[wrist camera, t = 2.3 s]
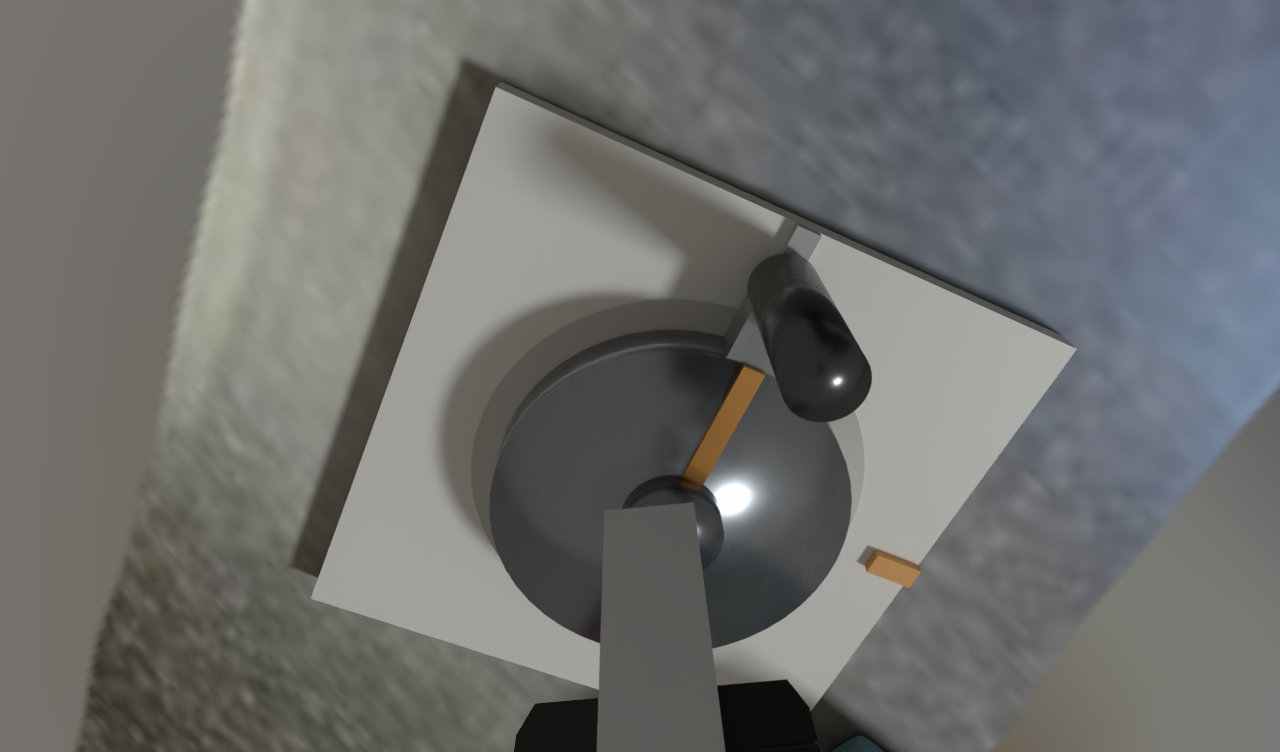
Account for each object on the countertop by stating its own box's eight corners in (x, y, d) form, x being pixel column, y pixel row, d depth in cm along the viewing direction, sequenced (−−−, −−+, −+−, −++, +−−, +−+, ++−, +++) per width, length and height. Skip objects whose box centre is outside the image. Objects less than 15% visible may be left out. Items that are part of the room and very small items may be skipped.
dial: (742, 655, 37) (767, 813, 30) (449, 557, 35) (407, 706, 28) (961, 324, 30) (1057, 432, 24) (618, 172, 28) (616, 245, 21)
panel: (500, 81, 28) (494, 88, 27) (1062, 335, 32) (1082, 353, 31) (320, 579, 37) (307, 605, 35) (779, 727, 41) (785, 755, 40)
